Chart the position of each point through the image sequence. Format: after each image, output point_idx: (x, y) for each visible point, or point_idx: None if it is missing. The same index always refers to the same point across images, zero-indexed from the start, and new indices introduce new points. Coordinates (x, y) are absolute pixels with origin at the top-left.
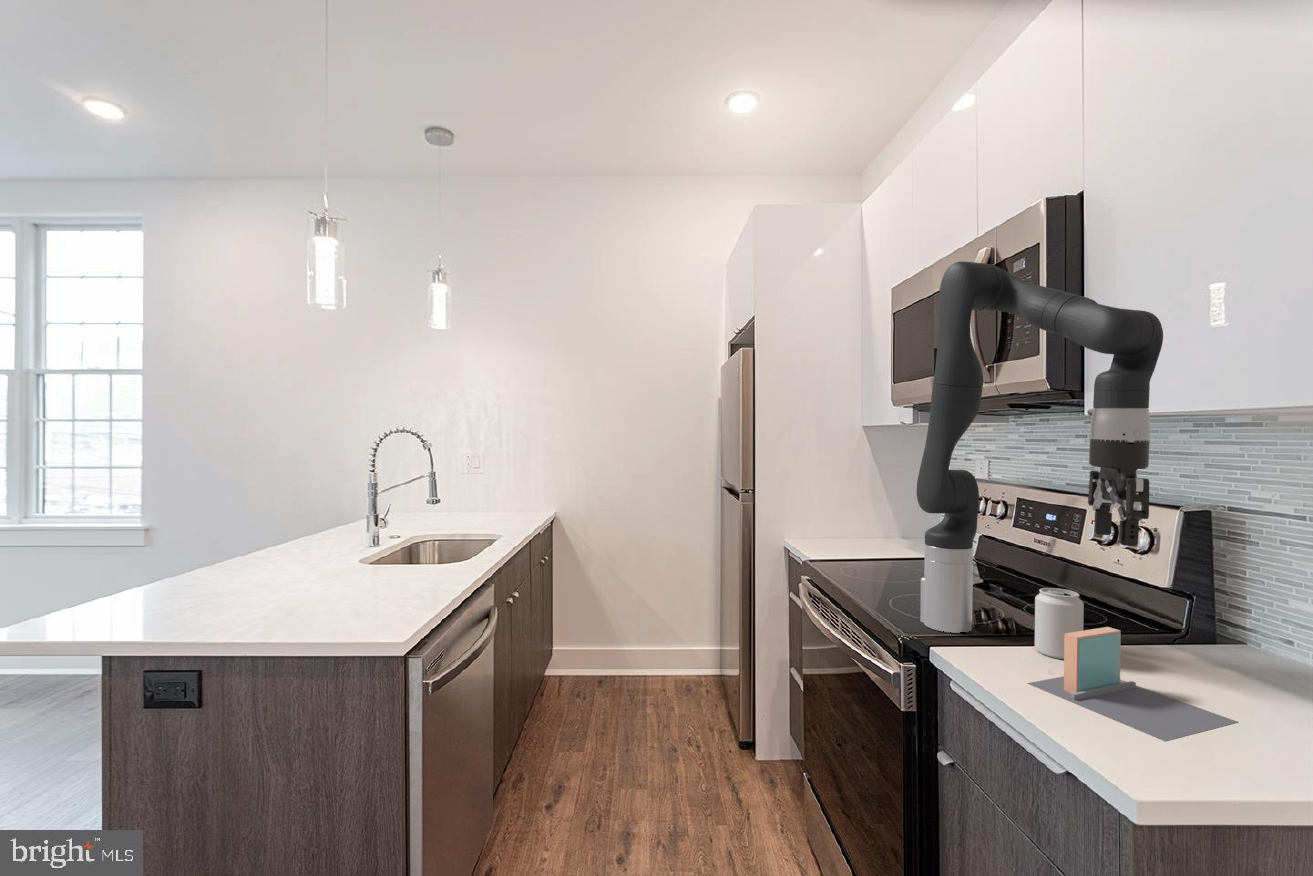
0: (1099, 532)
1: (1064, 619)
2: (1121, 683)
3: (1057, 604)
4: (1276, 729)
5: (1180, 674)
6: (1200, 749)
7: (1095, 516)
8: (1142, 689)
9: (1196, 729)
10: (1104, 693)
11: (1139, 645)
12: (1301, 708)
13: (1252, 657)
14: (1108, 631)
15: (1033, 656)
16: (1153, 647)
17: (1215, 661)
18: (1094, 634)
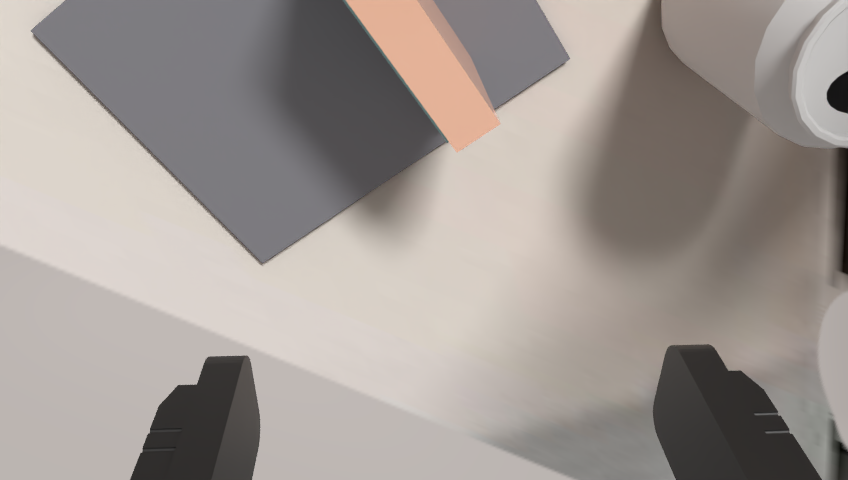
0: (674, 369)
1: (728, 27)
2: None
3: (775, 14)
4: (269, 319)
5: (595, 284)
6: (50, 105)
7: (764, 458)
8: (429, 135)
9: (162, 147)
10: None
11: (831, 283)
12: (419, 414)
13: None
14: (429, 100)
15: None
16: (812, 310)
17: None
18: (365, 24)
